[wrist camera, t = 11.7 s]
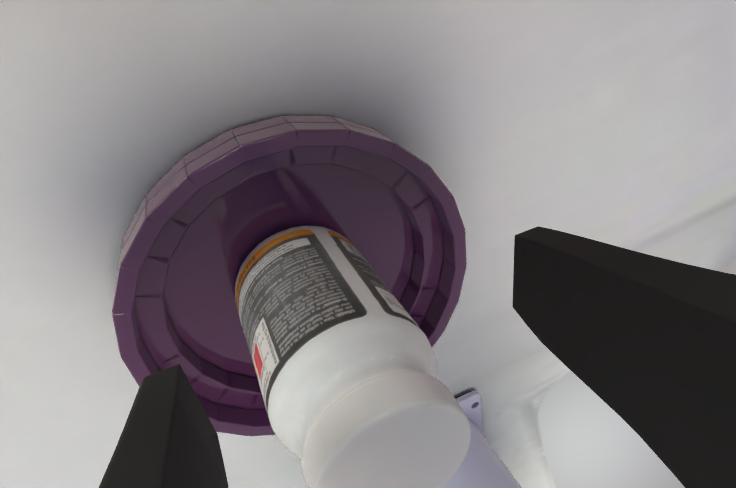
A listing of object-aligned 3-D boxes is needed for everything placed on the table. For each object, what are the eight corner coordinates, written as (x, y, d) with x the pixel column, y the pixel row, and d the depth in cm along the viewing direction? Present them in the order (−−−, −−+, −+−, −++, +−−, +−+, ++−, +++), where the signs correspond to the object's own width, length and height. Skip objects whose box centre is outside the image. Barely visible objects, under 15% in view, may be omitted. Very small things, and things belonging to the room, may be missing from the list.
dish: (445, 329, 26) (470, 360, 24) (194, 436, 23) (198, 482, 21) (425, 73, 19) (460, 84, 16) (42, 173, 15) (24, 204, 13)
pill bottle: (233, 340, 20) (286, 571, 12) (231, 223, 18) (297, 417, 10) (352, 322, 23) (463, 508, 15) (367, 215, 20) (510, 370, 12)
